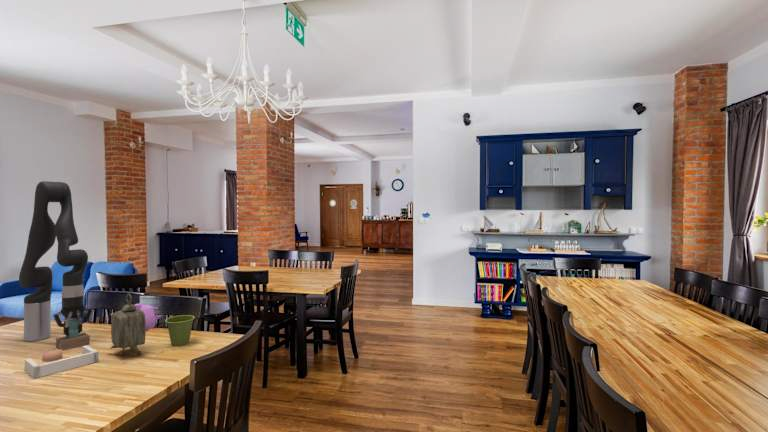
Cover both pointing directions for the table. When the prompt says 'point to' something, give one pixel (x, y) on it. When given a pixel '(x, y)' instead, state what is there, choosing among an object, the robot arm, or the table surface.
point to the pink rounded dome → (52, 355)
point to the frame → (62, 363)
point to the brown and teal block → (73, 338)
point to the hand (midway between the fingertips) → (72, 334)
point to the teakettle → (148, 315)
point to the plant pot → (180, 329)
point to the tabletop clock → (128, 327)
